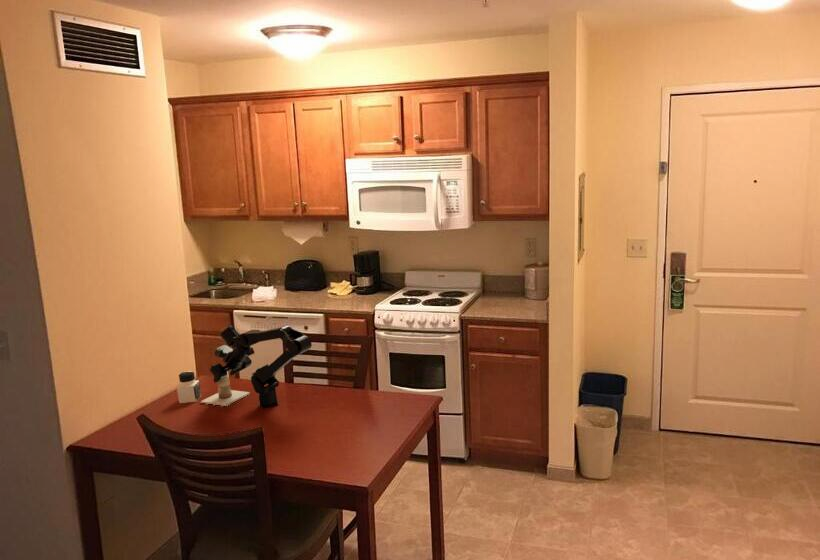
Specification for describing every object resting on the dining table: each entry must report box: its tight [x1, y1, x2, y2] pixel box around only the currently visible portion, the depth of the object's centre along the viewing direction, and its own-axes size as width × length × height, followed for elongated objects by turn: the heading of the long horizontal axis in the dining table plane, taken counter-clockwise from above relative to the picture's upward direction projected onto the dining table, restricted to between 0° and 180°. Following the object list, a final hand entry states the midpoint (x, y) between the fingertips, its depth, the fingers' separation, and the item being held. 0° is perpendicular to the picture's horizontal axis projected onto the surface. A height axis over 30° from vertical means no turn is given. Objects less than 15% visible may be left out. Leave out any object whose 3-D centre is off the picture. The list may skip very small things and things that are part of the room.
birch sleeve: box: [216, 371, 232, 399], centre depth 274 cm, size 5×5×11 cm
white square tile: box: [200, 389, 251, 407], centre depth 275 cm, size 14×14×1 cm
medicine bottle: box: [176, 370, 202, 404], centre depth 278 cm, size 7×7×12 cm
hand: (222, 378), depth 274 cm, fingers open, 9 cm apart
